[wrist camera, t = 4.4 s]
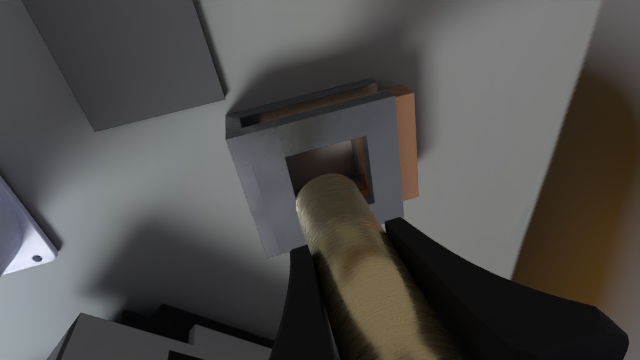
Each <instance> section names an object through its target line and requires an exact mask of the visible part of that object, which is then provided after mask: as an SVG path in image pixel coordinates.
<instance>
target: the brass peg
mask: <svg viewBox="0 0 640 360" xmlns="http://www.w3.org/2000/svg"><path fill="white" fill-rule="evenodd" d="M296 212H297V215H298V218H299V222H300V225H301V229H302V232H303V235H304V239H305V242H306V245H307V244H308V246H309V250H310V253H311V256H312V259H313V263H314V267H315V270H316V274H317V279H318V284H319V288H320V292H321V296H322V299H323V303H324V306H325V309H326V313H327V316H328V319H329V323H330V326H331V330H332V333H333V336H334V340H335V343H336V346H337V350H338V353H339V356H340V360H463V358H462V356H461V355H460V353H459V352H458V350H457V348H456V347H455V345H454V343H453V342H452V340H451V339H450V337H449V335H448V334H447V332H446V330H445V329H444V327H443V326H442V324H441V322H440V321H439V319H438V317H437V316H436V314H435V313H434V311H433V309H432V308H431V306H430V304H429V303H428V301H427V300H426V298H425V296H424V295H423V293H422V291H421V290H420V288H419V287H418V285H417V283H416V282H415V280H414V278H413V277H412V275H411V274H410V272H409V270H408V269H407V267H406V265H405V264H404V262H403V261H402V259H401V257H400V256H399V254H398V252H397V251H396V249H395V248H394V246H393V244H392V243H391V241H390V239H389V238H388V236H387V235H386V233H385V231H384V230H383V228H382V226H381V225H380V223H379V222H378V220H377V218H376V217H375V215H374V213H373V212H372V210H371V209H370V207H369V205H368V204H367V202H366V201H365V199H364V197H363V196H362V194H361V192H360V191H359V189H358V188H357V186H356V184H355V183H354V182H353V181H352V180H351V179H350V178H348V177H346V176H344V175H341V174H335V173H330V174H324V175H320V176H317V177H315V178H313V179H312V180H310V181H309V182H308V183H306V184H305V185H304V186H303V188H302V189H301V190H300V192H299V194H298V196H297V199H296Z"/></svg>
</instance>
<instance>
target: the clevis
mask: <svg viewBox="0 0 640 360" xmlns="http://www.w3.org/2000/svg"><path fill="white" fill-rule="evenodd" d="M347 140H351V143H352V149H353V156H354V163H355V170H356V175H353V176H350V177H348V178H350V179H351V180H352V181H353V182H354V183H355V184H356V186H357V188H358V189H359V191H360V192H361V194H362V196H363V197H364V199H365V201H366V202H367V204H368V205H369V207H370V209H371V210H372V212H373V213H374V215H375V217H376V218H377V220H378V222H379V223H380V225H381V224H385V221H388V220H391V219H394V218H398V217H401V218H404V211H403V201H405V200H408V199H412V198H415V197H418V196H419V192H418V169H417V146H416V123H415V100H414V92H412V91H411V90H409V89H408V88H406V87H404V86H403V85H400V86H396V87H392V88H388V89H384V90H380V91H378V88H377V82H375V81H374V80H372V79H367V80H363V81H359V82H355V83H351V84H347V85H343V86H339V87H335V88H331V89H327V90H324V91H320V92H316V93H312V94H308V95H304V96H300V97H296V98H292V99H288V100H284V101H280V102H276V103H272V104H268V105H264V106H260V107H256V108H252V109H248V110H244V111H241V112H237V113H233V114H229V115H226V142H227V145H228V148H229V151H230V153H231V156H232V159H233V162H234V165H235V168H236V170H237V173H238V176H239V179H240V182H241V185H242V188H243V190H244V193H245V196H246V199H247V202H248V205H249V207H250V210H251V213H252V216H253V219H254V222H255V225H256V227H257V230H258V233H259V236H260V239H261V242H262V244H263V247H264V250H265V253H266V256H267V258H270V257H273V256H277V255H280V254H284V253H287V252H290V251H291V250H292V249H294V248H297V247H301V246H304V245H306V242H305V239H304V235H303V232H302V229H301V225H300V222H299V218H298V215H297V212H296V199H297V196H298V194H299V192H300V191H296V192H294V191H293V187H292V183H291V180H290V176H289V172H288V168H287V164H286V161H285V157H288V156H291V155H295V154H299V153H302V152H306V151H310V150H314V149H317V148H321V147H325V146H328V145H332V144H336V143H340V142H343V141H347Z"/></svg>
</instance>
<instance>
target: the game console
mask: <svg viewBox="0 0 640 360" xmlns="http://www.w3.org/2000/svg"><path fill="white" fill-rule="evenodd" d="M274 343H275V341H272V340H269V339H266V338H263V337H260V336H257V335H254V334H251V333H249V332H246V331H243V330H240V329H237V328H234V327H231V326H228V325H225V324H222V323H219V322H216V321H213V320H210V319H207V318H204V317H201V316H198V315H195V314H192V313H189V312H186V311H184V310H181V309H178V308H175V307H172V306H169V305H166V304H162V306H161V307H160V308H159V309H158V311H157V312H156V313H155V314H154V316H153V317H152V318H151V317H147V316H144V315H141V314H138V313H135V312H131V311H128V310H125V309H124V311H123V312H122V313H121V314H120V316H119V317H118V318H117V320H116V321H115V322H111V321H108V320H105V319H101V318H98V317H94V316H91V315H87V314H84V313H80V315H79V316H78V317H77V319H76V320H75V321H74V323H73V324H72V325H71V327H70V328H69V330H68V331H67V332H66V334H65V335H64V336H63V338H62V339H61V341H60V342H59V343H58V345H57V346H56V347H55V349H54V350H53V351H52V353H51V354H50V356H49V357H48V358H47V360H269V357H270V354H271V351H272V349H273V346H274Z"/></svg>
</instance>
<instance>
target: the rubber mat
mask: <svg viewBox="0 0 640 360" xmlns="http://www.w3.org/2000/svg"><path fill="white" fill-rule="evenodd" d="M22 2H23V4H24V5H25V7H26V9H27V11H28V13H29V14H30V16H31V18H32V20H33V22H34V23H35V25H36V27H37V29H38V31H39V32H40V34H41V36H42V38H43V40H44V41H45V43H46V45H47V47H48V49H49V50H50V52H51V54H52V56H53V58H54V59H55V61H56V63H57V65H58V67H59V68H60V70H61V72H62V74H63V76H64V77H65V79H66V81H67V83H68V85H69V86H70V88H71V90H72V92H73V94H74V95H75V97H76V99H77V101H78V103H79V104H80V106H81V108H82V110H83V112H84V113H85V115H86V117H87V119H88V121H89V122H90V124H91V126H92V128H93V130H94V131H95V132H96V131H100V130H104V129H108V128H112V127H116V126H120V125H124V124H128V123H132V122H136V121H140V120H144V119H148V118H152V117H157V116H161V115H165V114H169V113H173V112H177V111H181V110H185V109H189V108H193V107H197V106H201V105H205V104H209V103H213V102H217V101H221V100H225V95H224V92H223V89H222V86H221V83H220V80H219V77H218V74H217V71H216V68H215V65H214V62H213V59H212V56H211V53H210V50H209V47H208V44H207V41H206V38H205V35H204V32H203V29H202V25H201V22H200V19H199V16H198V13H197V10H196V7H195V4H194V1H193V0H22Z"/></svg>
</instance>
